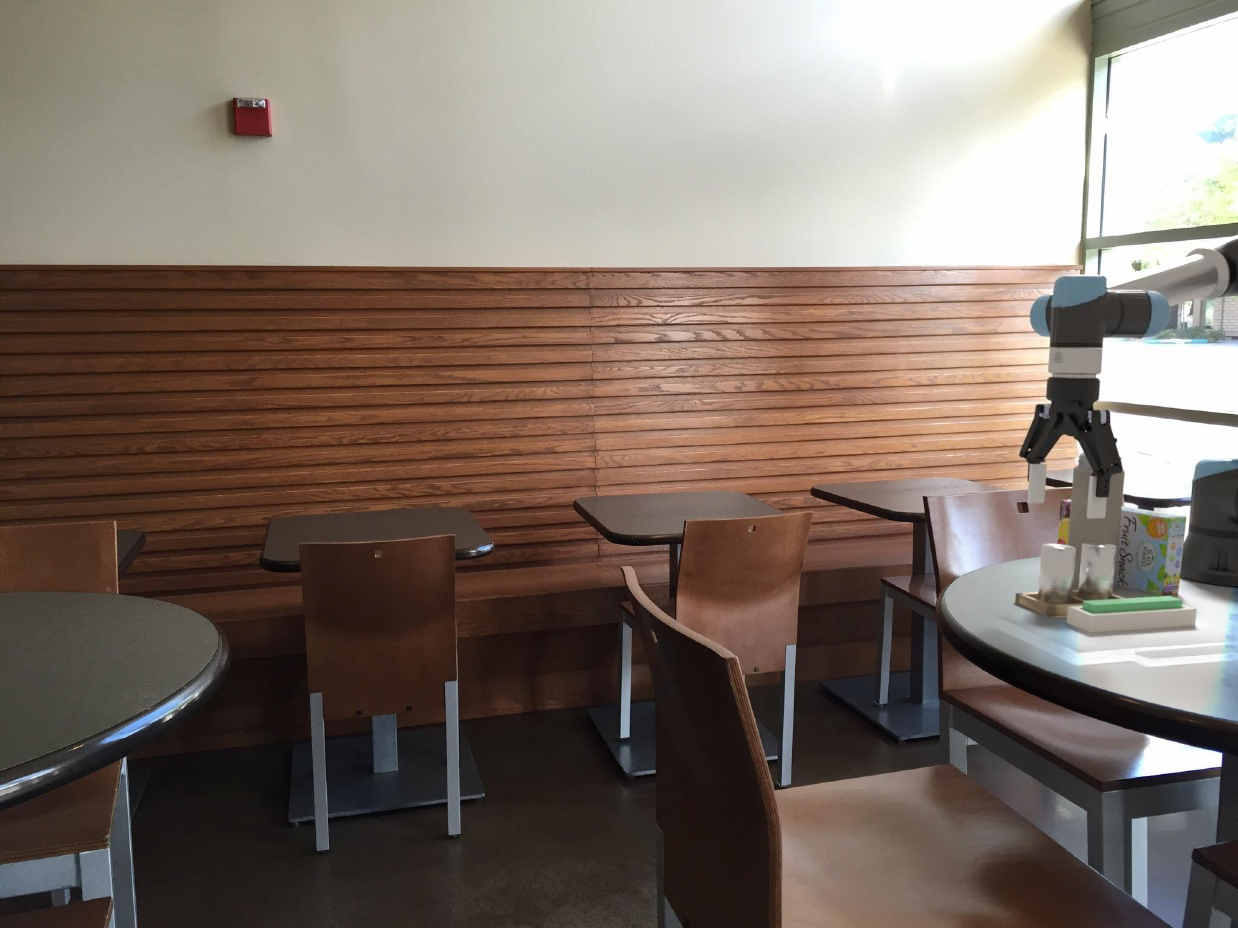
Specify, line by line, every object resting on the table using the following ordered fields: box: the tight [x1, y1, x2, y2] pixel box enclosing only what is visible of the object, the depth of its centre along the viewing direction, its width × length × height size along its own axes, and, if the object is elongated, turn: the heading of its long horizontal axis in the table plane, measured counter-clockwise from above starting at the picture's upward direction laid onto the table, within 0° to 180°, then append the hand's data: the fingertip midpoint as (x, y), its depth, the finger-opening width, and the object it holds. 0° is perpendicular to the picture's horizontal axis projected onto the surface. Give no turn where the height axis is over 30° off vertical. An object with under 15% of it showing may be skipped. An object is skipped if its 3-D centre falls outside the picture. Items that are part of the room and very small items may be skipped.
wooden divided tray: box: [1012, 589, 1125, 619], centre depth 157 cm, size 16×10×3 cm, turn 105°
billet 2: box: [1078, 542, 1117, 601], centre depth 157 cm, size 5×5×10 cm
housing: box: [1066, 603, 1197, 633], centre depth 147 cm, size 19×5×4 cm, turn 105°
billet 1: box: [1037, 543, 1076, 605], centre depth 155 cm, size 5×5×10 cm
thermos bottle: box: [1068, 437, 1126, 592], centre depth 169 cm, size 8×8×28 cm
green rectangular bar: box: [1082, 595, 1183, 613], centre depth 147 cm, size 16×2×4 cm, turn 105°
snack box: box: [1056, 498, 1187, 596], centre depth 174 cm, size 21×6×15 cm, turn 29°
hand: (1064, 510), depth 154 cm, fingers open, 13 cm apart
